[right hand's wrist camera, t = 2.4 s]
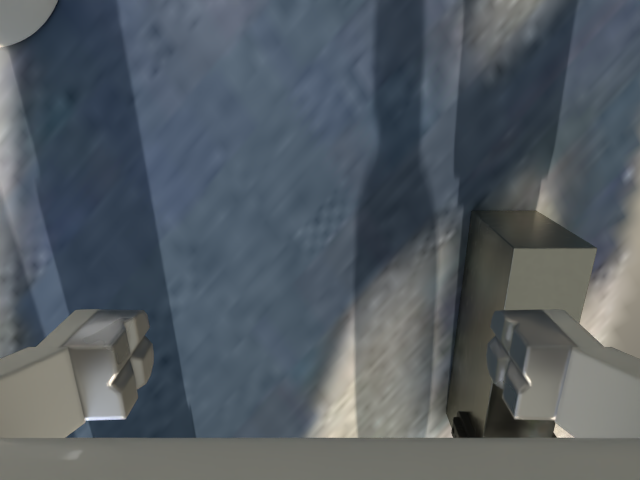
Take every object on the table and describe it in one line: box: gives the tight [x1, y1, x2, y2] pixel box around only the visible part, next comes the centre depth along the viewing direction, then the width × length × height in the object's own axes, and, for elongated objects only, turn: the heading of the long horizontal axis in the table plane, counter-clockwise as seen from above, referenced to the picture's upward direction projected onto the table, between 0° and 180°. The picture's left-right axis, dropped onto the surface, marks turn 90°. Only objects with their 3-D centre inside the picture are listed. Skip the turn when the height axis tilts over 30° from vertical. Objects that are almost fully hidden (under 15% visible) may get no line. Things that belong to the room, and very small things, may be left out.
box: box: [446, 211, 597, 438], centre depth 38 cm, size 23×6×9 cm, turn 0°
